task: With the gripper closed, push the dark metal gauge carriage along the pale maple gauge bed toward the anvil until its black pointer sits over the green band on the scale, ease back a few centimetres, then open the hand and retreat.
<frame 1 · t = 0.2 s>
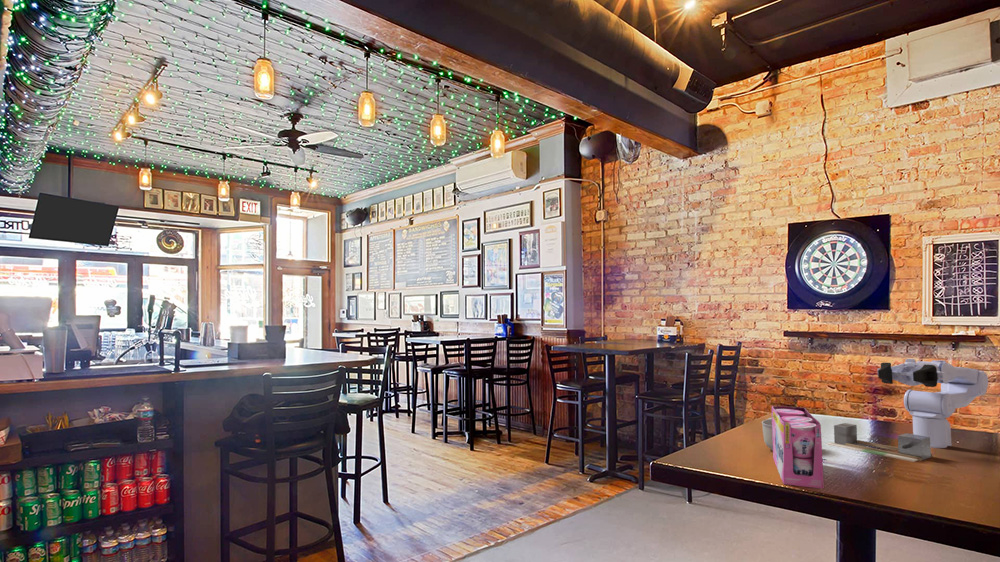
hand: (896, 375, 137), 21 cm above the table, tool horizontal, fingers open, 7 cm apart
gauge bed: (878, 454, 141), on the table
gum box: (796, 473, 125), on the table
gauge carriage: (911, 447, 134), point 4 cm above the table, slide at 0.0 cm
teacup: (782, 451, 145), on the table
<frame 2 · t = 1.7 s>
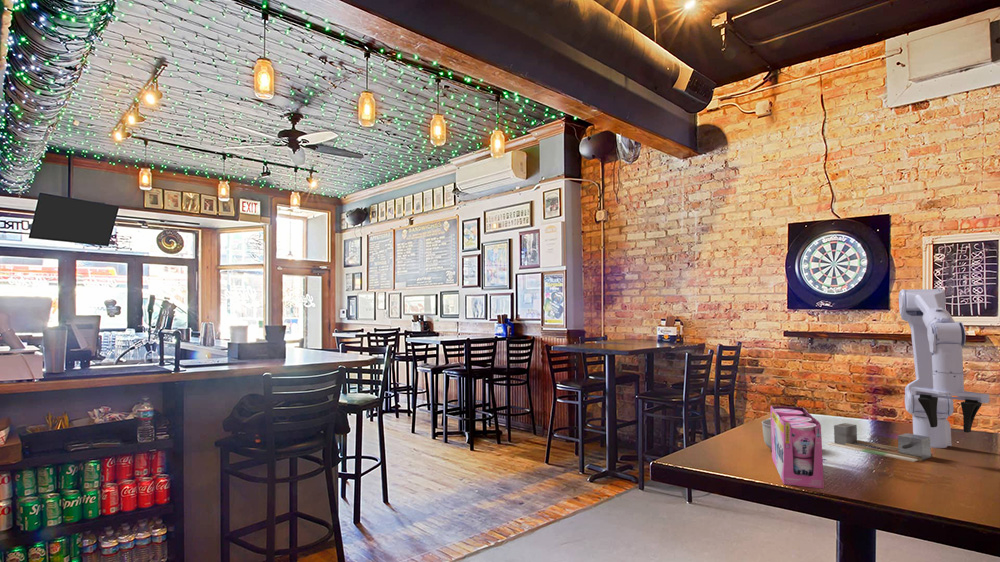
hand: (950, 429, 128), 9 cm above the table, tool pointing down, fingers open, 6 cm apart
nothing on the table moved.
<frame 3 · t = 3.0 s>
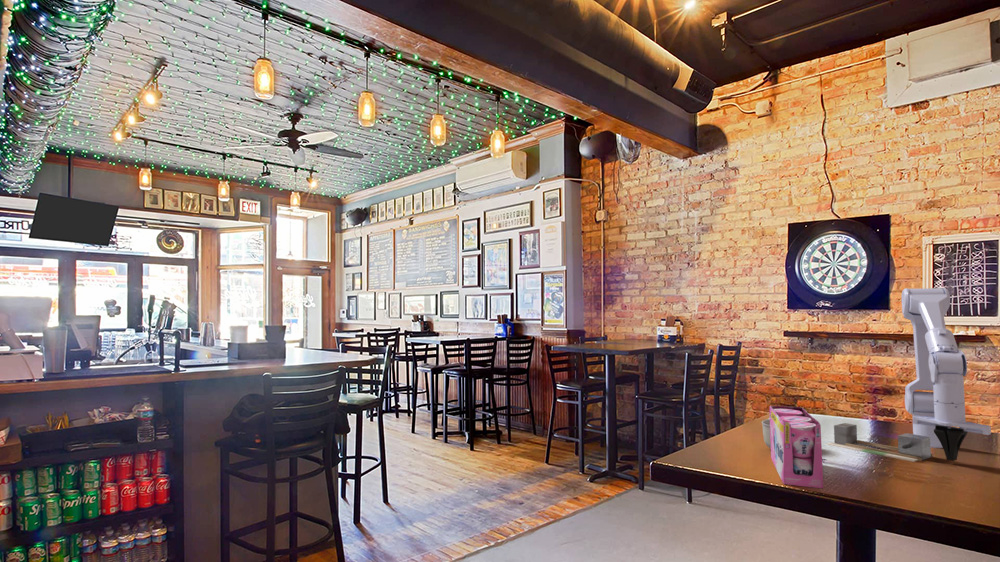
hand: (951, 459, 128), 2 cm above the table, tool pointing down, fingers closed
nothing on the table moved.
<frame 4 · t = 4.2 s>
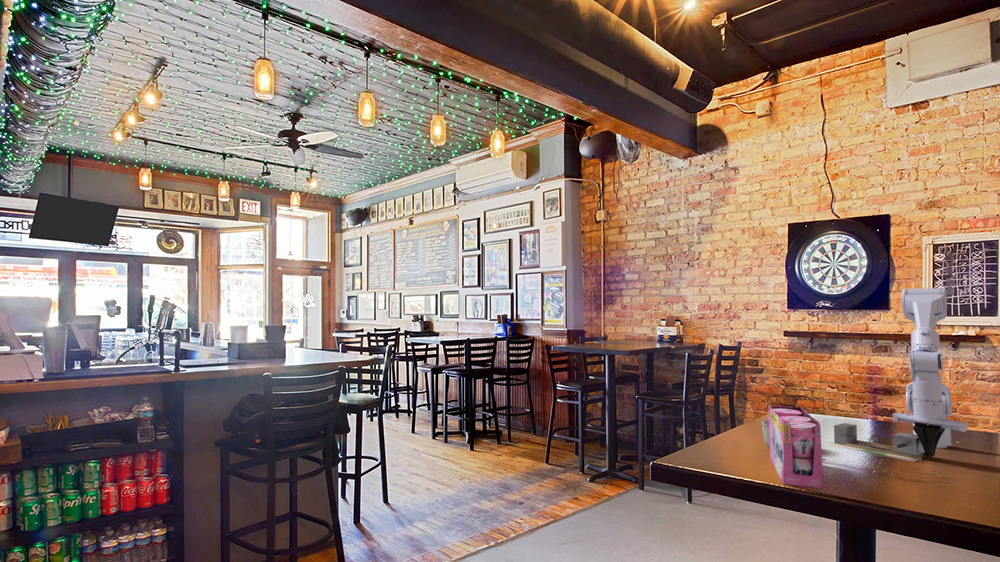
hand: (929, 455, 132), 2 cm above the table, tool pointing down, fingers closed
gauge carriage: (906, 446, 135), point 4 cm above the table, slide at 1.1 cm, touching gripper
everything else where it was.
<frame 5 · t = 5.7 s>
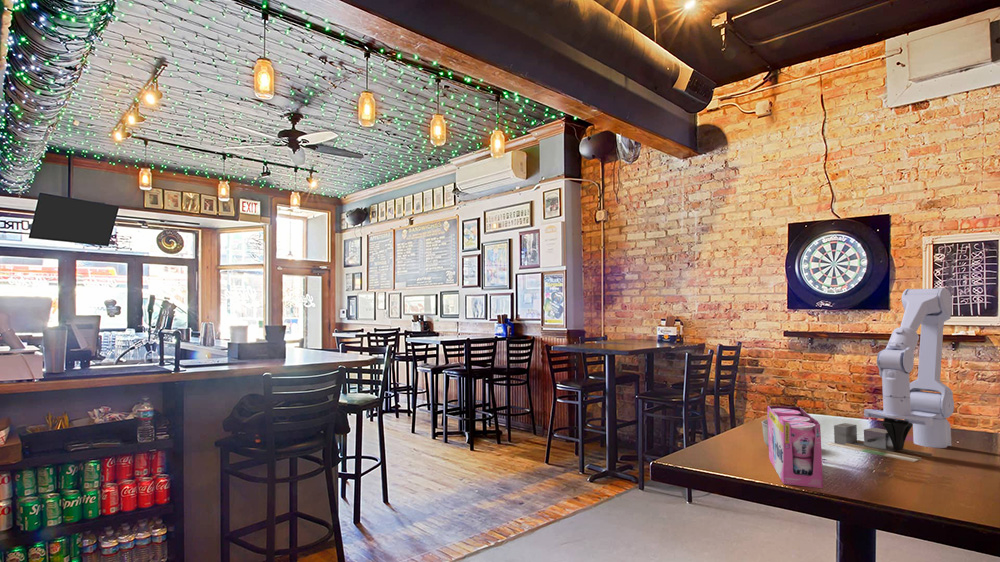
hand: (898, 449, 137), 2 cm above the table, tool pointing down, fingers closed
gauge carriage: (876, 440, 140), point 4 cm above the table, slide at 7.8 cm, touching gripper
everything else where it was.
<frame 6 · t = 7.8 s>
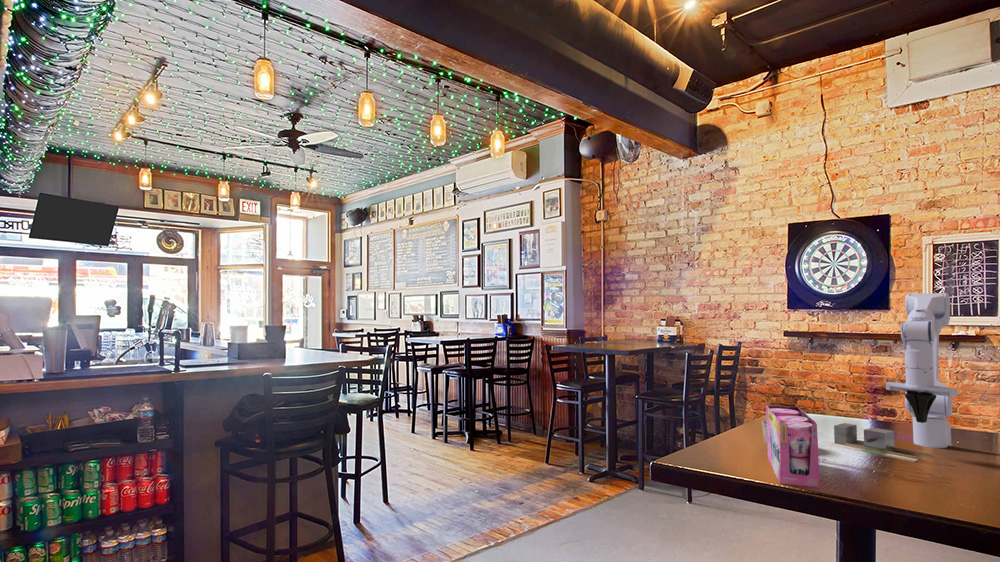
hand: (921, 422, 136), 10 cm above the table, tool pointing down, fingers closed
gauge carriage: (876, 440, 140), point 4 cm above the table, slide at 7.8 cm
everything else where it was.
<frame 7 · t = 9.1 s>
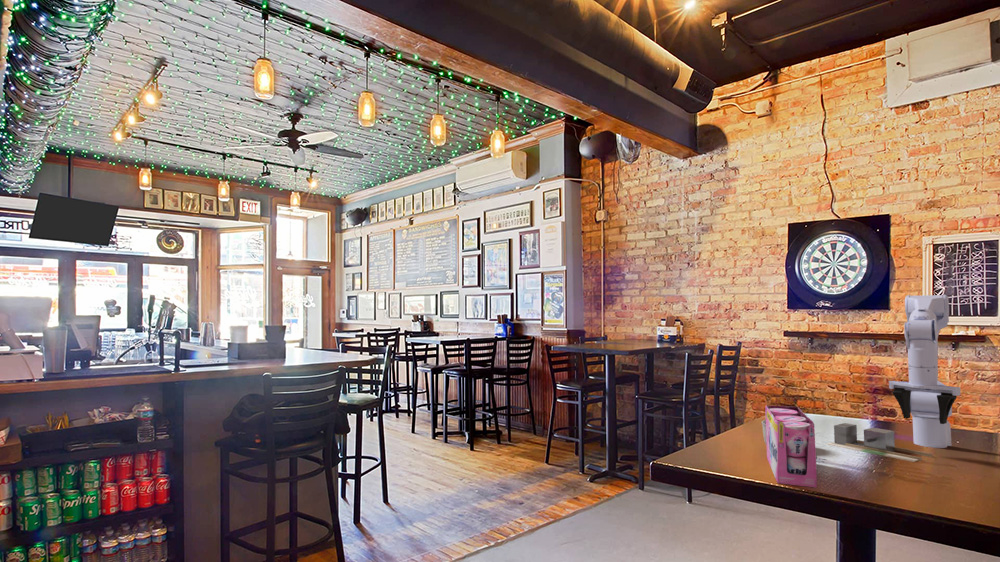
hand: (924, 420, 136), 10 cm above the table, tool pointing down, fingers open, 7 cm apart
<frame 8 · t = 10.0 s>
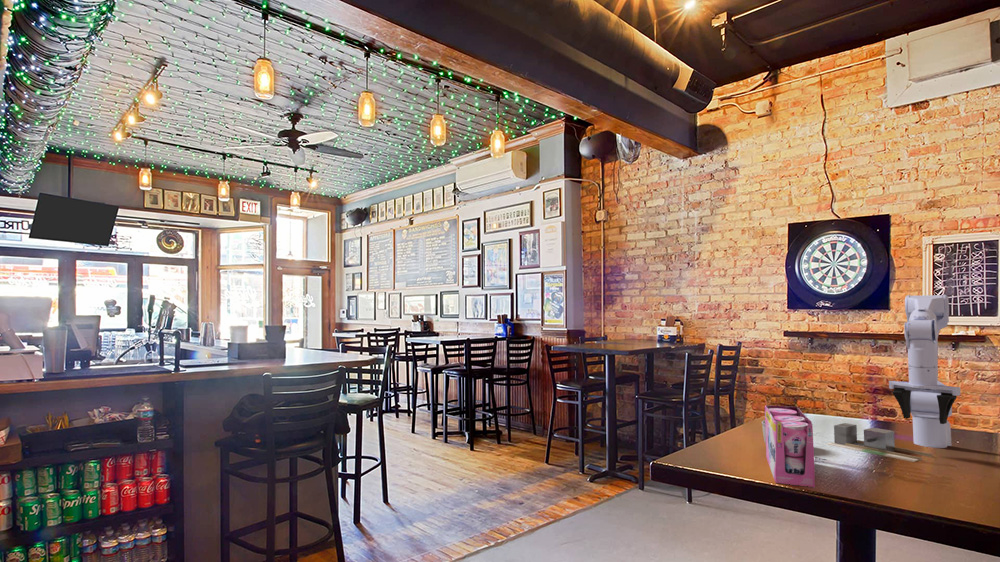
hand: (924, 420, 136), 10 cm above the table, tool pointing down, fingers open, 7 cm apart
at the end: gauge carriage slide at 7.8 cm; gauge carriage 0.8 cm from the target spot, point 3.8 cm above the table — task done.
